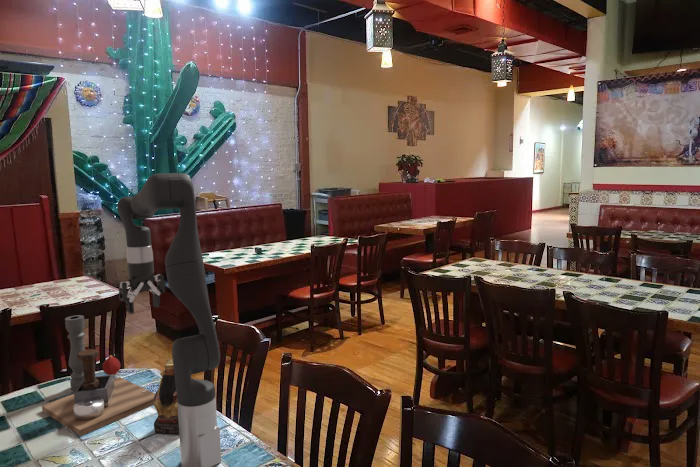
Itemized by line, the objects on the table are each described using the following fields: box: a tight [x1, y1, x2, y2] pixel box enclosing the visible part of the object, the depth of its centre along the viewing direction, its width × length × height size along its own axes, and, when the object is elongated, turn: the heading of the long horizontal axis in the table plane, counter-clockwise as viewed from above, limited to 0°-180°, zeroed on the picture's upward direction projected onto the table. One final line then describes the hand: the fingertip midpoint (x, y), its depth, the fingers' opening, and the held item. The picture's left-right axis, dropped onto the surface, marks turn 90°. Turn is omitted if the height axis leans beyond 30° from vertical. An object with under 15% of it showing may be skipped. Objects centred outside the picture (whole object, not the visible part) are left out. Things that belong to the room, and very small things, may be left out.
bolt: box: [77, 348, 99, 391], centre depth 152 cm, size 6×5×15 cm
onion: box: [102, 355, 121, 376], centre depth 175 cm, size 6×6×8 cm
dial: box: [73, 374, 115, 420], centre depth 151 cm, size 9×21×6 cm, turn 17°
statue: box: [153, 358, 179, 436], centre depth 138 cm, size 12×8×20 cm, turn 76°
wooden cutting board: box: [41, 376, 156, 437], centre depth 153 cm, size 25×25×2 cm
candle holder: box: [64, 314, 86, 392], centre depth 165 cm, size 6×6×25 cm
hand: (144, 310), depth 154 cm, fingers open, 8 cm apart
